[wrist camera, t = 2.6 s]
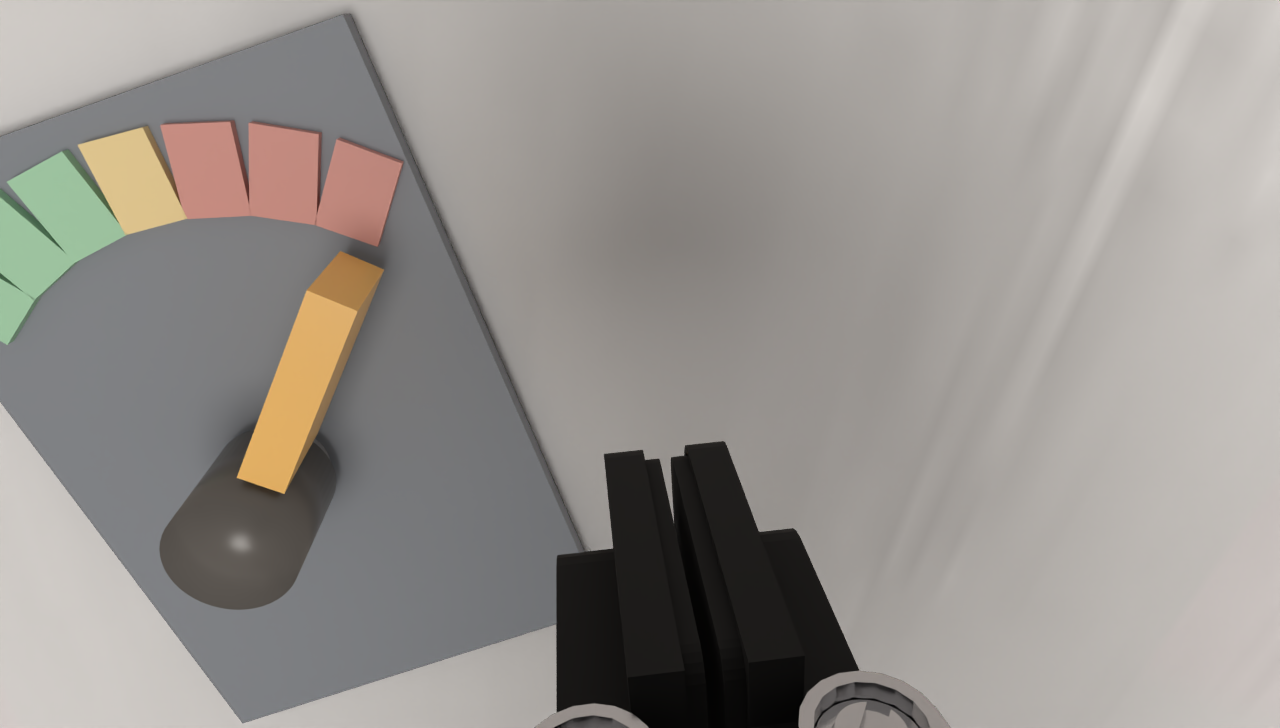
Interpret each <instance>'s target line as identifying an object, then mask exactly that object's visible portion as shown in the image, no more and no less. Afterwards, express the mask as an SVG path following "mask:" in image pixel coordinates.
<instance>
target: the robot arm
mask: <svg viewBox="0 0 1280 728" xmlns="http://www.w3.org/2000/svg"><path fill="white" fill-rule="evenodd" d="M604 459H605V469H606V479H607V489H608V499H609V509H610V519H611V530H612V540H613V549H607V550H598V551H589V552H580V553H571V554H562V555H557V562H556V625H557V713H554V714H552V715H551V716H549V717H548V718H547V719H545V720H544V721H543V722H541V723H540V724H538V725H537V726H536V727H534V728H951V727H950V726H949V725H948V723H947V722H946V720H945V719H944V718H943V716H942V715H941V713H940V712H939V711H938V709H937V708H936V707H935V706H934V705H933V704H932V703H931V702H930V701H929V700H928V699H927V698H926V697H925V696H924V695H923V694H922V693H921V692H919V691H918V690H916V689H915V688H913V687H912V686H910V685H908V684H907V683H905V682H904V681H901V680H899V679H896V678H893V677H890V676H887V675H885V674H882V673H874V672H866V671H859V669H858V666H857V664H856V662H855V660H854V657H853V655H852V653H851V651H850V648H849V646H848V644H847V642H846V639H845V637H844V635H843V633H842V630H841V628H840V626H839V624H838V621H837V619H836V617H835V615H834V612H833V610H832V608H831V606H830V603H829V601H828V599H827V597H826V594H825V592H824V590H823V588H822V585H821V583H820V581H819V579H818V576H817V574H816V572H815V570H814V567H813V565H812V563H811V561H810V558H809V556H808V554H807V552H806V549H805V547H804V545H803V543H802V540H801V538H800V536H799V535H798V533H797V531H796V530H794V529H793V528H792V529H783V530H774V531H766V532H759V531H758V529H757V526H756V523H755V521H754V518H753V515H752V512H751V510H750V507H749V504H748V502H747V499H746V496H745V494H744V491H743V488H742V486H741V483H740V480H739V478H738V475H737V472H736V470H735V467H734V464H733V462H732V459H731V456H730V453H729V451H728V448H727V445H726V443H725V442H724V441H722V442H713V443H703V444H694V445H685V451H684V456H679V457H671V475H672V493H673V510H674V522H673V518H672V513H671V509H670V504H669V500H668V495H667V491H666V486H665V482H664V477H663V473H662V468H661V463H660V460H659V459H651V460H645V458H644V453H643V450H637V451H628V452H618V453H609V454H604Z"/></svg>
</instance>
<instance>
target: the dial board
mask: <svg viewBox="0 0 1280 728" xmlns="http://www.w3.org/2000/svg"><path fill="white" fill-rule="evenodd" d="M340 251H342V252H344V253H346V254H349V255H351V256H353V257H356V258H358V259H360V260H363V261H365V262H367V263H370V264H372V265H375V266H377V267H379V268H382V269H384V271H383V274H382V276H381V279H380V281H379V284H378V286H377V289H376V291H375V294H374V296H373V298H372V301H371V303H370V306H369V308H368V311H367V313H366V316H365V318H364V321H363V323H362V326H361V328H360V331H359V333H358V335H357V338H356V340H355V343H354V345H353V348H352V350H351V353H350V355H349V358H348V360H347V363H346V365H345V367H344V370H343V372H342V375H341V377H340V380H339V382H338V385H337V387H336V390H335V392H334V395H333V397H332V400H331V402H330V404H329V407H328V409H327V412H326V414H325V417H324V419H323V422H322V424H321V427H320V429H319V432H318V434H317V436H316V437H315V439H314V441H313V442H314V443H315V444H317V445H318V446H319V447H320V448H321V449H322V450H323V451H324V452H325V454H326V455H327V456H328V458H329V459H330V461H331V463H332V465H333V468H334V471H335V475H336V489H335V493H334V496H333V499H332V501H331V503H330V505H329V508H328V510H327V512H326V514H325V517H324V519H323V521H322V523H321V525H320V528H319V530H318V532H317V534H316V537H315V539H314V541H313V543H312V545H311V548H310V550H309V552H308V554H307V557H306V559H305V561H304V563H303V565H302V568H301V570H300V572H299V574H298V577H297V579H296V581H295V582H294V584H293V586H292V587H291V588H290V590H289V591H288V592H287V593H286V594H285V595H283V596H282V597H281V598H279V599H278V600H276V601H274V602H272V603H270V604H267V605H265V606H262V607H258V608H253V609H245V610H232V609H224V608H218V607H214V606H211V605H208V604H205V603H202V602H200V601H198V600H196V599H194V598H192V597H191V596H189V595H187V594H186V593H185V592H183V591H182V590H181V589H180V588H179V587H178V586H177V585H175V584H174V582H173V581H172V580H171V579H170V578H169V576H168V574H167V573H166V571H165V569H164V567H163V565H162V562H161V558H160V551H159V548H160V540H161V536H162V534H163V531H164V529H165V528H166V526H167V525H168V523H169V522H170V521H171V519H172V518H173V516H174V515H175V514H176V512H177V511H178V510H179V508H180V507H181V506H182V504H183V503H184V502H185V500H186V499H187V498H188V496H189V495H190V494H191V492H192V491H193V489H194V488H195V487H196V485H197V484H198V483H199V481H200V480H201V479H202V477H203V476H204V475H205V473H206V472H207V471H208V469H209V468H210V467H211V465H212V464H213V463H214V461H215V460H216V458H217V457H218V456H219V454H220V453H221V452H222V450H223V449H224V448H225V446H226V445H227V444H228V443H229V442H230V441H231V440H233V439H234V438H235V437H237V436H239V435H240V434H242V433H245V432H247V431H251V430H254V429H255V427H256V424H257V422H258V419H259V416H260V414H261V411H262V408H263V406H264V403H265V400H266V398H267V395H268V392H269V390H270V387H271V384H272V382H273V379H274V376H275V374H276V371H277V368H278V366H279V363H280V360H281V358H282V355H283V352H284V349H285V347H286V344H287V341H288V339H289V336H290V333H291V331H292V328H293V325H294V323H295V320H296V317H297V315H298V312H299V309H300V307H301V304H302V301H303V299H304V296H305V293H306V291H307V289H308V288H309V287H310V286H311V285H312V283H313V282H314V281H315V280H316V279H317V278H318V276H319V275H320V274H321V273H322V272H323V271H324V269H325V268H326V267H327V266H328V265H329V264H330V262H331V261H332V260H333V259H334V258H335V257H336V256H337V254H338V253H339V252H340ZM0 402H1V404H2V405H3V406H4V407H5V409H6V410H7V411H8V413H9V414H10V415H11V417H12V418H13V419H14V421H15V422H16V423H17V425H18V426H19V427H20V429H21V430H22V431H23V433H24V434H25V435H26V437H27V438H28V439H29V441H30V442H31V443H32V445H33V446H34V447H35V449H36V450H37V451H38V453H39V454H40V455H41V457H42V458H43V459H44V461H45V462H46V463H47V465H48V466H49V467H50V468H51V470H52V471H53V472H54V474H55V475H56V476H57V478H58V479H59V480H60V482H61V483H62V484H63V486H64V487H65V488H66V490H67V491H68V492H69V494H70V495H71V496H72V498H73V499H74V500H75V502H76V503H77V504H78V506H79V507H80V508H81V510H82V511H83V512H84V514H85V515H86V516H87V518H88V519H89V520H90V522H91V523H92V524H93V526H94V527H95V528H96V530H97V531H98V532H99V533H100V535H101V536H102V537H103V539H104V540H105V541H106V543H107V544H108V545H109V547H110V548H111V549H112V551H113V552H114V553H115V555H116V556H117V557H118V559H119V560H120V561H121V563H122V564H123V565H124V567H125V568H126V569H127V571H128V572H129V573H130V575H131V576H132V577H133V579H134V580H135V581H136V583H137V584H138V585H139V587H140V588H141V589H142V591H143V592H144V593H145V594H146V596H147V597H148V598H149V600H150V601H151V602H152V604H153V605H154V606H155V608H156V609H157V610H158V612H159V613H160V614H161V616H162V617H163V618H164V620H165V621H166V622H167V624H168V625H169V626H170V628H171V629H172V630H173V632H174V633H175V634H176V636H177V637H178V638H179V640H180V641H181V642H182V644H183V645H184V646H185V648H186V649H187V650H188V652H189V653H190V654H191V656H192V657H193V658H194V659H195V661H196V662H197V663H198V665H199V666H200V667H201V669H202V670H203V671H204V673H205V674H206V675H207V677H208V678H209V679H210V681H211V682H212V683H213V685H214V686H215V687H216V689H217V690H218V691H219V693H220V694H221V695H222V697H223V698H224V699H225V701H226V702H227V703H228V705H229V706H230V707H231V709H232V710H233V711H234V713H235V714H236V715H237V717H238V718H239V719H240V720H241V722H242V723H245V722H249V721H252V720H255V719H258V718H261V717H264V716H267V715H271V714H274V713H277V712H280V711H283V710H286V709H290V708H293V707H296V706H299V705H302V704H305V703H309V702H312V701H315V700H318V699H321V698H324V697H327V696H331V695H334V694H337V693H340V692H343V691H346V690H350V689H353V688H356V687H359V686H362V685H365V684H368V683H372V682H375V681H378V680H381V679H384V678H387V677H391V676H394V675H397V674H400V673H403V672H406V671H409V670H413V669H416V668H419V667H422V666H425V665H428V664H432V663H435V662H438V661H441V660H444V659H447V658H450V657H454V656H457V655H460V654H463V653H466V652H469V651H473V650H476V649H479V648H482V647H485V646H488V645H491V644H495V643H498V642H501V641H504V640H507V639H510V638H514V637H517V636H520V635H523V634H526V633H529V632H532V631H536V630H539V629H542V628H545V627H548V626H551V625H555V624H556V562H557V555H562V554H571V553H580V552H584V549H583V547H582V545H581V542H580V540H579V538H578V535H577V533H576V531H575V529H574V526H573V524H572V522H571V519H570V517H569V515H568V512H567V510H566V508H565V506H564V503H563V501H562V499H561V496H560V494H559V492H558V490H557V487H556V485H555V483H554V480H553V478H552V476H551V473H550V471H549V469H548V467H547V464H546V462H545V460H544V457H543V455H542V453H541V450H540V448H539V446H538V444H537V441H536V439H535V437H534V434H533V432H532V430H531V428H530V425H529V423H528V421H527V418H526V416H525V414H524V411H523V409H522V407H521V405H520V402H519V400H518V398H517V395H516V393H515V391H514V388H513V386H512V384H511V382H510V379H509V377H508V375H507V372H506V370H505V368H504V366H503V363H502V361H501V359H500V356H499V354H498V352H497V349H496V347H495V345H494V343H493V340H492V338H491V336H490V333H489V331H488V329H487V326H486V324H485V322H484V320H483V317H482V315H481V313H480V310H479V308H478V306H477V304H476V301H475V299H474V297H473V294H472V292H471V290H470V287H469V285H468V283H467V281H466V278H465V276H464V274H463V271H462V269H461V267H460V264H459V262H458V260H457V258H456V255H455V253H454V251H453V248H452V246H451V244H450V242H449V239H448V237H447V235H446V232H445V230H444V228H443V225H442V223H441V221H440V219H439V216H438V214H437V212H436V209H435V207H434V205H433V202H432V200H431V198H430V196H429V193H428V191H427V189H426V186H425V184H424V182H423V180H422V177H421V175H420V173H419V170H418V168H417V166H416V163H415V161H414V159H413V157H412V154H411V152H410V150H409V147H408V145H407V143H406V140H405V138H404V136H403V134H402V131H401V129H400V127H399V124H398V122H397V120H396V117H395V115H394V113H393V111H392V108H391V106H390V104H389V101H388V99H387V97H386V95H385V92H384V90H383V88H382V85H381V83H380V81H379V78H378V76H377V74H376V72H375V69H374V67H373V65H372V62H371V60H370V58H369V55H368V53H367V51H366V49H365V46H364V44H363V42H362V39H361V37H360V35H359V33H358V30H357V28H356V26H355V23H354V21H353V19H352V16H351V14H343V15H340V16H337V17H334V18H332V19H329V20H326V21H323V22H320V23H318V24H315V25H312V26H309V27H306V28H304V29H301V30H298V31H295V32H292V33H290V34H287V35H284V36H281V37H278V38H275V39H273V40H270V41H267V42H264V43H261V44H259V45H256V46H253V47H250V48H247V49H245V50H242V51H239V52H236V53H233V54H231V55H228V56H225V57H222V58H219V59H217V60H214V61H211V62H208V63H205V64H203V65H200V66H197V67H194V68H191V69H189V70H186V71H183V72H180V73H177V74H175V75H172V76H169V77H166V78H163V79H161V80H158V81H155V82H152V83H149V84H147V85H144V86H141V87H138V88H135V89H133V90H130V91H127V92H124V93H121V94H119V95H116V96H113V97H110V98H107V99H105V100H102V101H99V102H96V103H93V104H90V105H88V106H85V107H82V108H79V109H76V110H74V111H71V112H68V113H65V114H62V115H60V116H57V117H54V118H51V119H48V120H46V121H43V122H40V123H37V124H34V125H32V126H29V127H26V128H23V129H20V130H18V131H15V132H12V133H9V134H6V135H4V136H1V137H0Z"/></svg>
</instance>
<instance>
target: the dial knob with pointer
mask: <svg viewBox="0 0 1280 728" xmlns="http://www.w3.org/2000/svg"><path fill="white" fill-rule="evenodd" d="M383 271H384V269H382V268H379V267H377V266H375V265H372V264H370V263H367V262H365V261H363V260H360V259H358V258H356V257H353V256H351V255H349V254H346V253H344V252H342V251H340V252H339V253H338V254H337V256H336V257H335V258H334V259H333V260H332V261H331V262H330V264H329V265H328V266H327V267H326V268H325V269H324V271H323V272H322V273H321V274H320V275H319V276H318V278H317V279H316V280H315V281H314V282H313V283H312V285H311V286H310V287H309V288H308V289H307V291H306V293H305V296H304V299H303V301H302V304H301V307H300V309H299V312H298V315H297V317H296V320H295V323H294V325H293V328H292V331H291V333H290V336H289V339H288V341H287V344H286V347H285V349H284V352H283V355H282V358H281V360H280V363H279V366H278V368H277V371H276V374H275V376H274V379H273V382H272V384H271V387H270V390H269V392H268V395H267V398H266V400H265V403H264V406H263V408H262V411H261V414H260V416H259V419H258V422H257V424H256V427H255V429H254V430H251V431H247V432H245V433H242V434H240V435H239V436H237V437H235V438H234V439H233V440H231V441H230V442H229V443H228V444H227V445H226V446H225V448H224V449H223V450H222V452H221V453H220V454H219V456H218V457H217V458H216V460H215V461H214V463H213V464H212V465H211V467H210V468H209V469H208V471H207V472H206V473H205V475H204V476H203V477H202V479H201V480H200V481H199V483H198V484H197V485H196V487H195V488H194V489H193V491H192V492H191V494H190V495H189V496H188V498H187V499H186V500H185V502H184V503H183V504H182V506H181V507H180V508H179V510H178V511H177V512H176V514H175V515H174V516H173V518H172V519H171V521H170V522H169V523H168V525H167V526H166V528H165V529H164V531H163V534H162V536H161V540H160V548H159V551H160V558H161V562H162V565H163V567H164V569H165V571H166V573H167V574H168V576H169V578H170V579H171V580H172V581H173V582H174V584H175V585H177V586H178V587H179V588H180V589H181V590H182V591H183V592H185V593H186V594H187V595H189V596H191V597H192V598H194V599H196V600H198V601H200V602H202V603H205V604H208V605H211V606H214V607H218V608H224V609H232V610H245V609H253V608H258V607H262V606H265V605H267V604H270V603H272V602H274V601H276V600H278V599H279V598H281V597H282V596H283V595H285V594H286V593H287V592H288V591H289V590H290V588H291V587H292V586H293V584H294V582H295V581H296V579H297V577H298V574H299V572H300V570H301V568H302V565H303V563H304V561H305V559H306V557H307V554H308V552H309V550H310V548H311V545H312V543H313V541H314V539H315V537H316V534H317V532H318V530H319V528H320V525H321V523H322V521H323V519H324V517H325V514H326V512H327V510H328V508H329V505H330V503H331V501H332V499H333V496H334V493H335V489H336V475H335V471H334V468H333V465H332V463H331V461H330V459H329V458H328V456H327V455H326V454H325V452H324V451H323V450H322V449H321V448H320V447H319V446H318V445H317V444H315V443H314V442H313V441H314V439H315V437H316V436H317V434H318V432H319V429H320V427H321V424H322V422H323V419H324V417H325V414H326V412H327V409H328V407H329V404H330V402H331V400H332V397H333V395H334V392H335V390H336V387H337V385H338V382H339V380H340V377H341V375H342V372H343V370H344V367H345V365H346V363H347V360H348V358H349V355H350V353H351V350H352V348H353V345H354V343H355V340H356V338H357V335H358V333H359V331H360V328H361V326H362V323H363V321H364V318H365V316H366V313H367V311H368V308H369V306H370V303H371V301H372V298H373V296H374V294H375V291H376V289H377V286H378V284H379V281H380V279H381V276H382V274H383Z"/></svg>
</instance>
